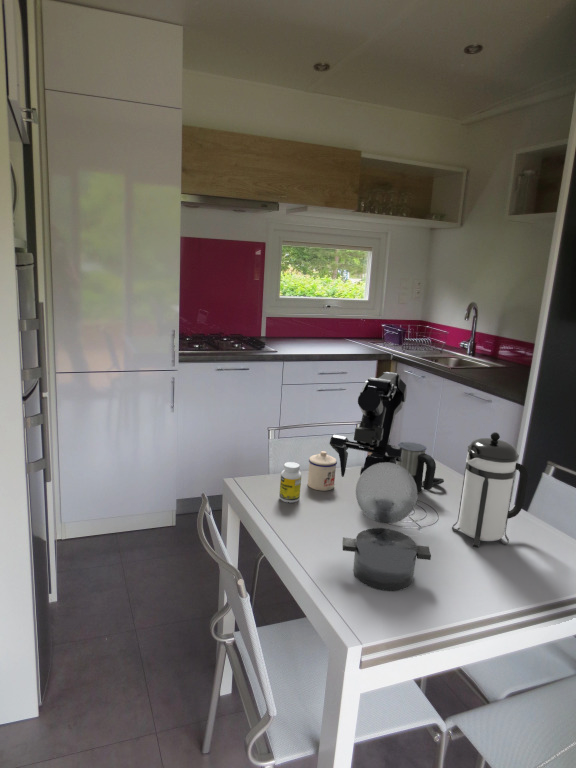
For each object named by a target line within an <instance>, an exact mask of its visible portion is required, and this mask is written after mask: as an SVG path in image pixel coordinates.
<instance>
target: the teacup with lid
mask: <svg viewBox="0 0 576 768" xmlns="http://www.w3.org/2000/svg"><path fill="white" fill-rule="evenodd" d="M327 453H328V452H327V451H325V450H321V451H320V453H317V454H313V455H311V456H309V459H308V462H309V465H308V473H307V474H308V477H307V486H308V487H309V488H311V489H312V490H316V491H322V492H324V491H325V492H326V491H330V490H333V488H335V479H336V468H337V464H338V461H337V458H335V457H334V456H331V455H329V454H327Z"/></svg>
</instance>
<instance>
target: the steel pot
mask: <svg viewBox="0 0 576 768" xmlns="http://www.w3.org/2000/svg"><path fill="white" fill-rule="evenodd" d="M355 537H356V538H353V537H352V538H351V537H342V551H344V552H354V557H353V566H352V567H353V568H352V571H353V573H352V574H354V576H355V578H356V579H357V580H358V581H359V582H360V583H362V584H363V585H365V586H367V587H369V588H372V589H376V590H378V591H383V592H397V591H398V592H399V591H403V590H406V589H407V588H409V587H410V586H412V584H413V582H414V575H415V568H416V562H417V560H425V561H426V560H428V561H431V559H432V553H431V551H430V547H429V546H427V545H426V546H425V545H418V544H417V543H416V541H415V540H414V539H413V538H411V537H410V536H409V535H407V534H405V533H403V532H401V531H398V530H393V529H390V528H387V527H386V528H385V527H376V528H375V527H374V528H373V527H372V528H367V529H364V530H362V531H359V533H357V535H356V536H355Z"/></svg>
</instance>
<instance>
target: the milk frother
mask: <svg viewBox="0 0 576 768" xmlns="http://www.w3.org/2000/svg"><path fill="white" fill-rule="evenodd" d="M397 446H399V447H401V448H402V450H403V453H404V454H403V460H402V462H398V461H397V464H398V465H400V466H402V467H403V468H405V469H406V470H407V471H408V472H409V473H410V474H411V476H412V477H413V479H414V480H415V483H416V486H417V494H419V493H421V492H422V491H423V490H424V491H430V490H431V489H432V488H433V487H434V486H438V485H441V484H444V482H445V480H444V478H441V477H440V478H439V477H435V474H436V468H437V466H436V465H437V464H436V460H435V459H434V458H433V457H432V456H431V455H429V454H428V453H426V450H427V449H428V448H427V446H426V445H424V444H422V443H417V442H414V441H412V442H411V441H402V442H399V443H398V444H397ZM424 467H426V468H424ZM424 469H425V473H424ZM424 474H425V475H424ZM423 478H424V480H423Z"/></svg>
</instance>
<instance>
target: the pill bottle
mask: <svg viewBox="0 0 576 768" xmlns="http://www.w3.org/2000/svg"><path fill="white" fill-rule="evenodd" d="M300 467H301V466H300V464H299V463H297V462H293V461H287V462H285V463H284V465H283V470H282V471H281V472H280V485H279V499H280V501H282V502H283V503H284V502H285V503H288V502H289V504H290V503H296V502H298V501H299V500H300V496H301V487H302V486H301V485H302V483H301V482H302V472H301V471H300V470H301V469H300Z"/></svg>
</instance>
